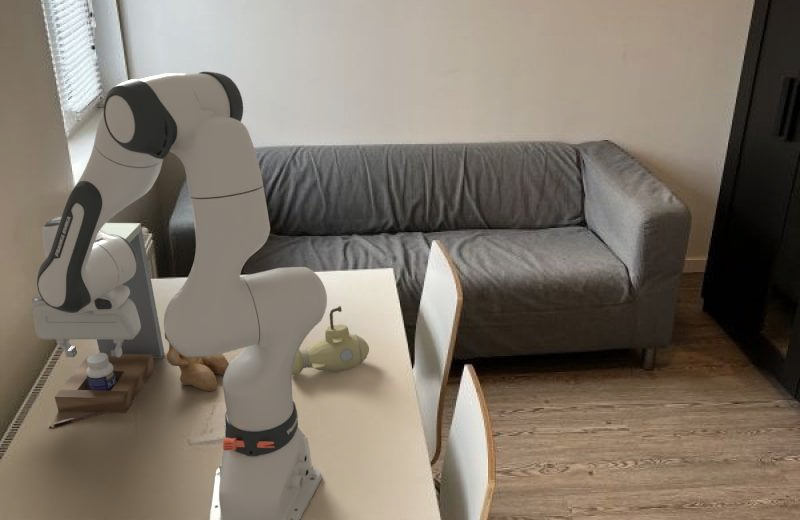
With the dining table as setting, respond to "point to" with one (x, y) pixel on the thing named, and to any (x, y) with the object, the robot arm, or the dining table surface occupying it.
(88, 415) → the pen
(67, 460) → the dining table surface
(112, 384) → the pill bottle
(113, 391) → the socket block
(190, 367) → the figurine
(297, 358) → the toy
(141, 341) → the grey pedestal stand
